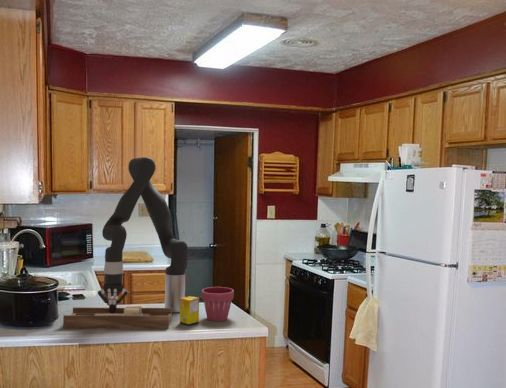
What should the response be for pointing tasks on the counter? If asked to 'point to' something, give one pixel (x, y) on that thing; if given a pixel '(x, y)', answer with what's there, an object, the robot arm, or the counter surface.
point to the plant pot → (217, 302)
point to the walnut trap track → (118, 318)
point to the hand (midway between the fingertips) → (112, 313)
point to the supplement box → (189, 310)
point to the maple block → (132, 311)
